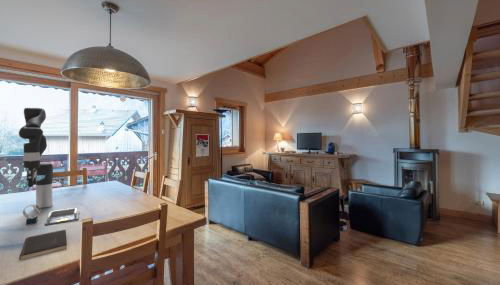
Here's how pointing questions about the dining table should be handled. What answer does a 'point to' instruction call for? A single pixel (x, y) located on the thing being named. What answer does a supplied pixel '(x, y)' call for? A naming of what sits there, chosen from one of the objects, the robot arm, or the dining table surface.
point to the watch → (33, 218)
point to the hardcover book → (43, 244)
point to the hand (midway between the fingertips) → (32, 185)
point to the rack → (62, 216)
